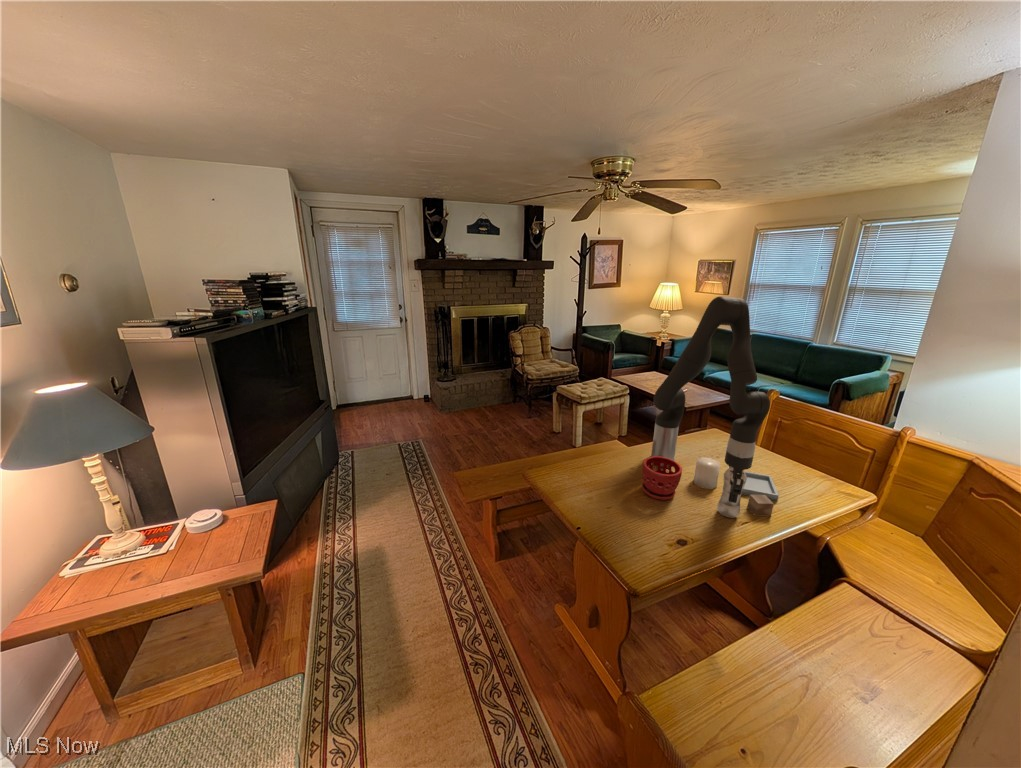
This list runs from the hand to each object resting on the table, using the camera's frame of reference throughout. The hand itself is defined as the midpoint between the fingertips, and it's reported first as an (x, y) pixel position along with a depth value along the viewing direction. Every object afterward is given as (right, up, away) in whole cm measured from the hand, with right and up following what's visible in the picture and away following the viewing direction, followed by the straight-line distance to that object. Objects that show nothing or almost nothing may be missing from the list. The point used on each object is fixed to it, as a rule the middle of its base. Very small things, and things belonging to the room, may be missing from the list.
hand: (731, 496), depth 124 cm
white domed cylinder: (+2, -1, +20) cm, 20 cm away
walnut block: (+12, -6, +4) cm, 14 cm away
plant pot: (-18, -3, +14) cm, 24 cm away
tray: (+18, -2, +17) cm, 25 cm away
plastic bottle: (0, -7, +2) cm, 7 cm away
